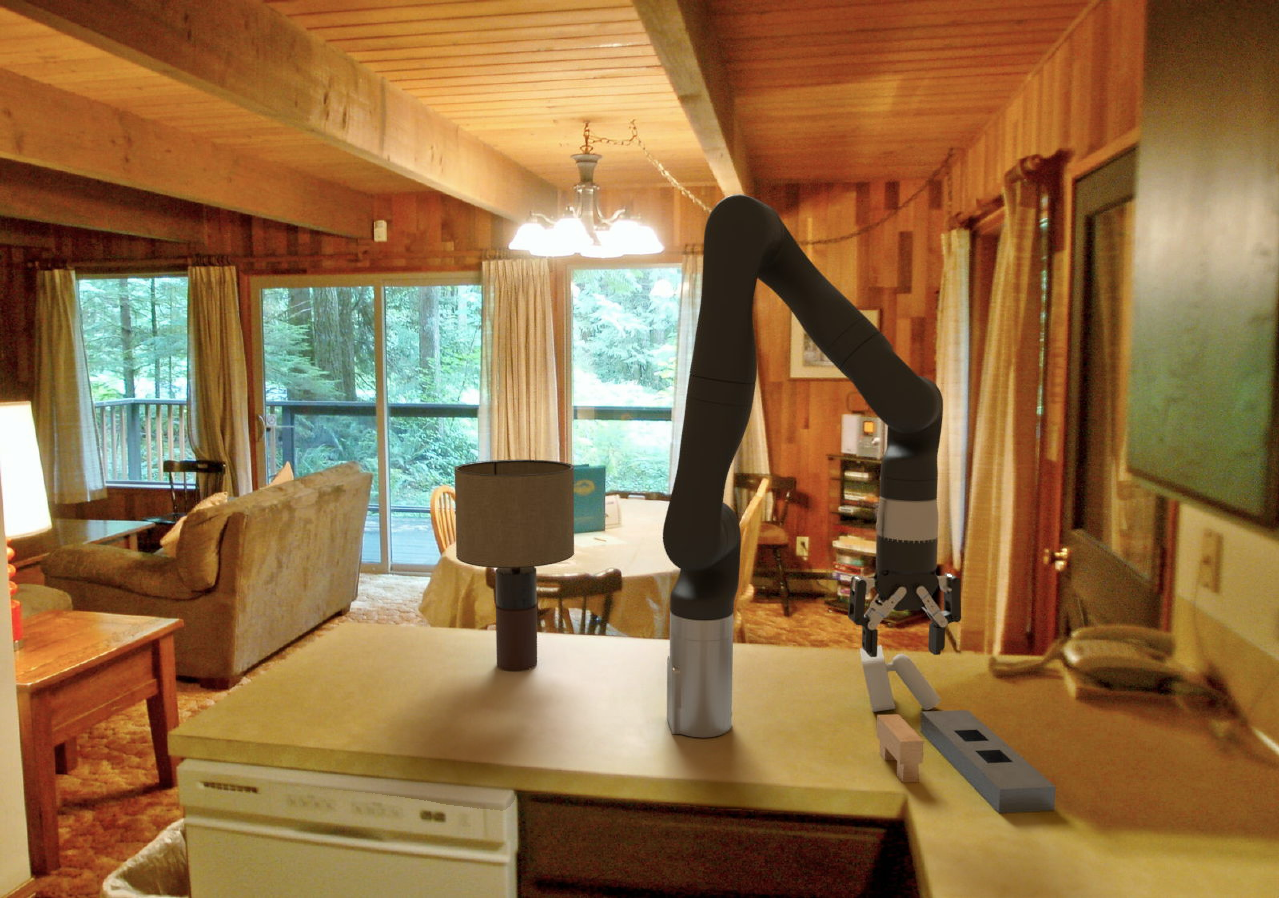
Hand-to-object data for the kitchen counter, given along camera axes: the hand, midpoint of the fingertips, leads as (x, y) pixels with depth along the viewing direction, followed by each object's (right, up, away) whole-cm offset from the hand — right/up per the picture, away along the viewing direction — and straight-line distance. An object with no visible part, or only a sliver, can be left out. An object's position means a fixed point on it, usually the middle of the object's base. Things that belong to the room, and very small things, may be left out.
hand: (903, 654), depth 110 cm
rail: (+11, -15, +2) cm, 19 cm away
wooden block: (0, -15, +2) cm, 16 cm away
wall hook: (+6, -14, +21) cm, 26 cm away
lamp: (-56, -11, +38) cm, 69 cm away
